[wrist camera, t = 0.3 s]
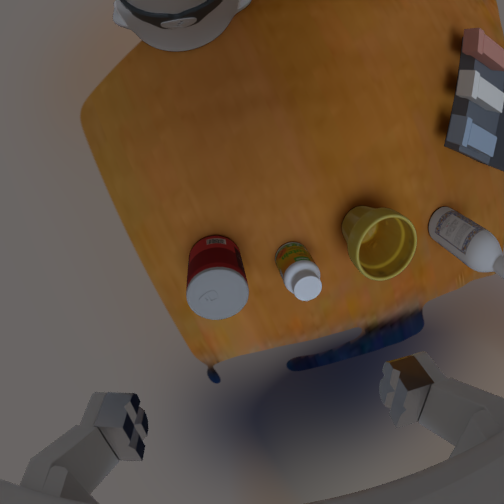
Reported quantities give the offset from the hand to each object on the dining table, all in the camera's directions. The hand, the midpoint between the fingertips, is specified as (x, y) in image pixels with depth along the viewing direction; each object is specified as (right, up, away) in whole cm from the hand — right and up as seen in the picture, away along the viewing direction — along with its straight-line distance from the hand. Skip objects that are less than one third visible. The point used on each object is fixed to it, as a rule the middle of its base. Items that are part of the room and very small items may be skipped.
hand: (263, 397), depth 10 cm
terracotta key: (+37, +38, +26) cm, 59 cm away
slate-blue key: (+35, +24, +32) cm, 53 cm away
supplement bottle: (+6, +4, +43) cm, 43 cm away
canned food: (-6, +4, +41) cm, 41 cm away
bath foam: (+35, +10, +44) cm, 57 cm away
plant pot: (+17, +9, +42) cm, 46 cm away
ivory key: (+36, +31, +29) cm, 56 cm away
